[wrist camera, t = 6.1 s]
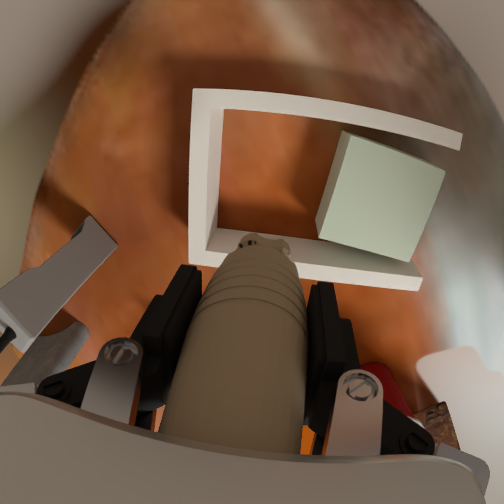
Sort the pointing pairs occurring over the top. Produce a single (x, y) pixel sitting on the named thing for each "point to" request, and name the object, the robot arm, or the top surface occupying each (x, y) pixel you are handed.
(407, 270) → the cubby
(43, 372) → the hip flask
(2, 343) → the grey brick cell phone
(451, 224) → the top surface
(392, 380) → the plastic cup
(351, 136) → the sage block
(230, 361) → the handle
